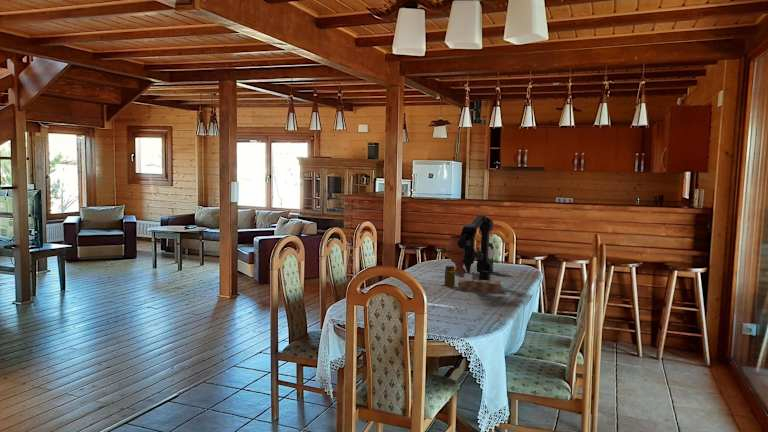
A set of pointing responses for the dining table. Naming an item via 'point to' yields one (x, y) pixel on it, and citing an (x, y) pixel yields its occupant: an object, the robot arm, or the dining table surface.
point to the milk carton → (490, 253)
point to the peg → (467, 277)
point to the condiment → (449, 277)
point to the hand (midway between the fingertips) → (468, 273)
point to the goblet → (456, 253)
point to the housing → (479, 286)
